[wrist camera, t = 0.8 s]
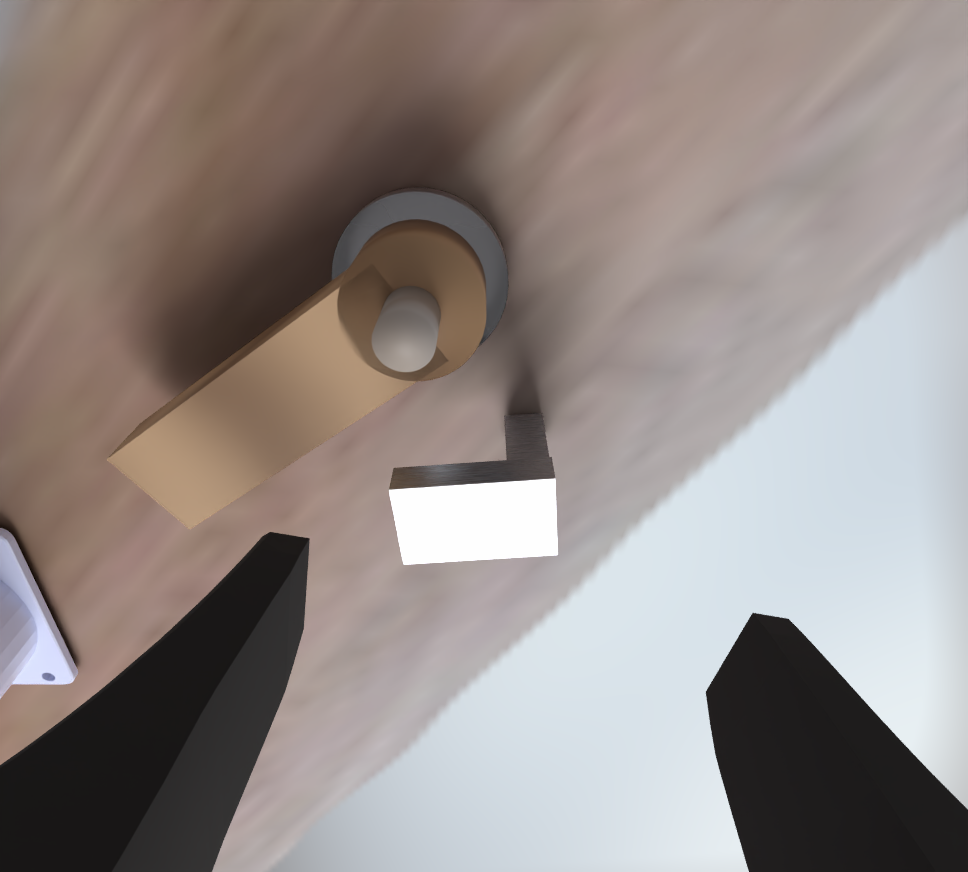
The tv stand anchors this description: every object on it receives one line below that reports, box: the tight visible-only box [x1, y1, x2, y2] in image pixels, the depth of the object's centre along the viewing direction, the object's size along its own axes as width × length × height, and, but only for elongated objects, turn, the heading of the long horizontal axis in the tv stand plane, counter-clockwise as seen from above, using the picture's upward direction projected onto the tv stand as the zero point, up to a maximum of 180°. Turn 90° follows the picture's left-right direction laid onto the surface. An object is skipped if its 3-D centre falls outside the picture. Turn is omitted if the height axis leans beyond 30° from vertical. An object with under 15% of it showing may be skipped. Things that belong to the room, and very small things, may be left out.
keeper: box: [389, 413, 558, 565], centre depth 19 cm, size 2×4×5 cm, turn 95°
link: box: [107, 219, 486, 529], centre depth 17 cm, size 11×4×4 cm, turn 125°
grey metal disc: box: [332, 187, 508, 346], centre depth 18 cm, size 5×5×1 cm
